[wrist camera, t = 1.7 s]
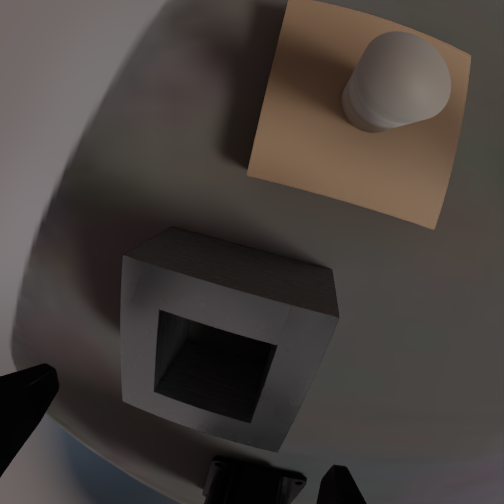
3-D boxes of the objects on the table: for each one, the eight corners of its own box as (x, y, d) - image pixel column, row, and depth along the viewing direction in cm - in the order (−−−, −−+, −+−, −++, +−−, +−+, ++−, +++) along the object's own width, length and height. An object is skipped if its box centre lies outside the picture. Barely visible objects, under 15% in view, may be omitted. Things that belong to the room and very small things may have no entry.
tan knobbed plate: (421, 221, 12) (494, 275, 6) (253, 172, 12) (205, 191, 7) (455, 64, 9) (536, 21, 4) (292, 12, 10) (274, -76, 4)
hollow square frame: (286, 393, 15) (277, 452, 11) (157, 353, 16) (122, 401, 12) (332, 269, 13) (339, 317, 9) (171, 226, 14) (122, 255, 10)
